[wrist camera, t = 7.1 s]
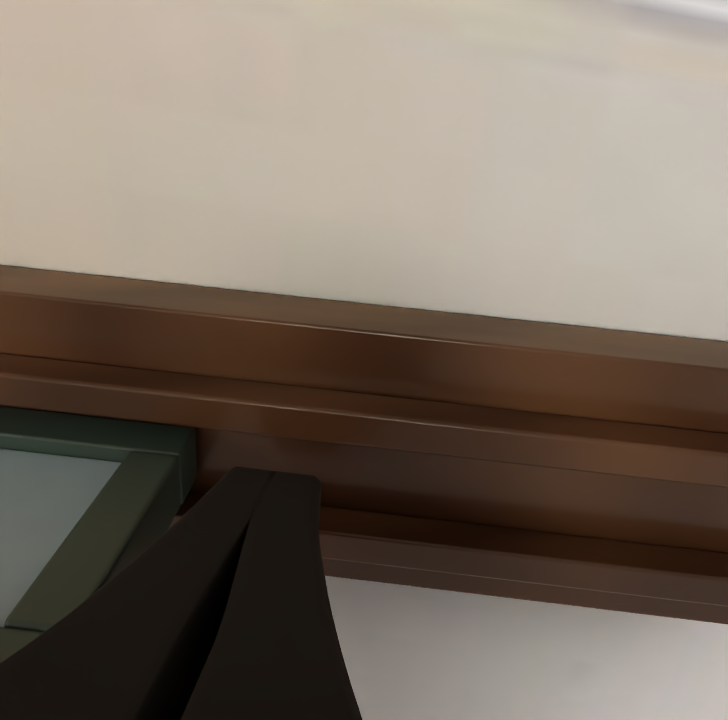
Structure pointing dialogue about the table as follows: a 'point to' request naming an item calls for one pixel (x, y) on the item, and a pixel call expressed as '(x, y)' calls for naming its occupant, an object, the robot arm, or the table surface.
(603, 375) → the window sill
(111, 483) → the window pane
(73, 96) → the table surface
